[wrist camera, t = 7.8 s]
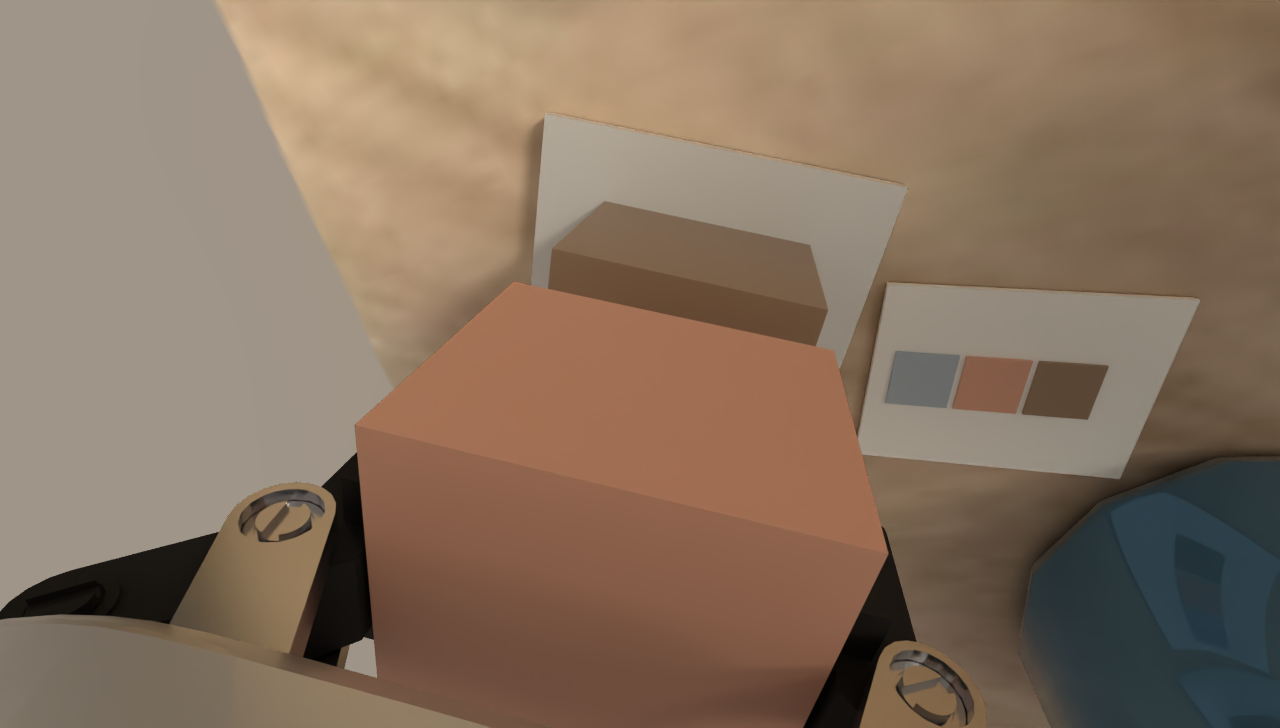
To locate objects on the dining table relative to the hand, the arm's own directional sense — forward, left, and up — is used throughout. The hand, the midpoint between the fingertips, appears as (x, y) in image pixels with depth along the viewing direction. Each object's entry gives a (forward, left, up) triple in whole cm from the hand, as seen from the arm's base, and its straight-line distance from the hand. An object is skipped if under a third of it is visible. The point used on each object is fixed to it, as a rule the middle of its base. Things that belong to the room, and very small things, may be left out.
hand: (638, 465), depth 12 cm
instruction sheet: (-10, 0, -8) cm, 13 cm away
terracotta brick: (0, 0, -1) cm, 1 cm away
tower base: (0, 0, -8) cm, 8 cm away
